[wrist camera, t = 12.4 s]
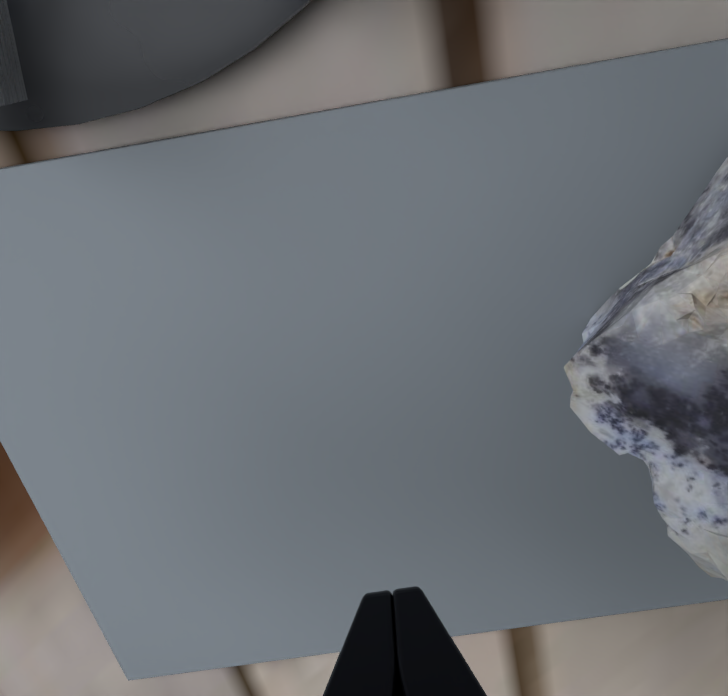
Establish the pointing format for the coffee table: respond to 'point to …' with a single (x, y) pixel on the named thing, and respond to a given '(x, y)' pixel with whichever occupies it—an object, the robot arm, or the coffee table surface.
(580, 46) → the coffee table surface
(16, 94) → the sprocket
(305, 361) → the slate mat
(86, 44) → the sprocket base
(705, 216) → the mineral specimen
